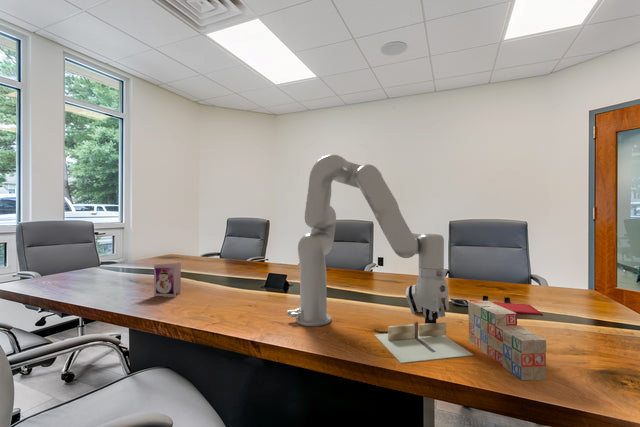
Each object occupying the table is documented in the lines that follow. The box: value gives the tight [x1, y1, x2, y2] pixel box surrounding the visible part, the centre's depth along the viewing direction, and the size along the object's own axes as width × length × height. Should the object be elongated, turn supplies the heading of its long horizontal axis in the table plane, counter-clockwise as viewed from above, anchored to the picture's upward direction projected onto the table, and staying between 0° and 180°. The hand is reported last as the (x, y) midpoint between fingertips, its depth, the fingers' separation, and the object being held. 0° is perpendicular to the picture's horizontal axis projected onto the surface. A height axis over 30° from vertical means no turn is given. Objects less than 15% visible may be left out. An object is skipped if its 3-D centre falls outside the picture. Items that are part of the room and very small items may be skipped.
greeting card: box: [153, 262, 182, 298], centre depth 141 cm, size 11×7×15 cm, turn 80°
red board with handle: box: [450, 295, 544, 316], centre depth 121 cm, size 30×3×15 cm
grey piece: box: [405, 284, 423, 314], centre depth 121 cm, size 17×5×10 cm, turn 156°
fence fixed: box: [387, 321, 419, 341], centre depth 89 cm, size 10×1×5 cm, turn 101°
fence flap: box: [418, 322, 447, 337], centre depth 91 cm, size 8×1×4 cm, turn 97°
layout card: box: [374, 330, 474, 364], centre depth 86 cm, size 21×18×1 cm
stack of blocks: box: [467, 300, 547, 381], centre depth 78 cm, size 21×6×12 cm, turn 3°
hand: (430, 330), depth 93 cm, fingers closed
